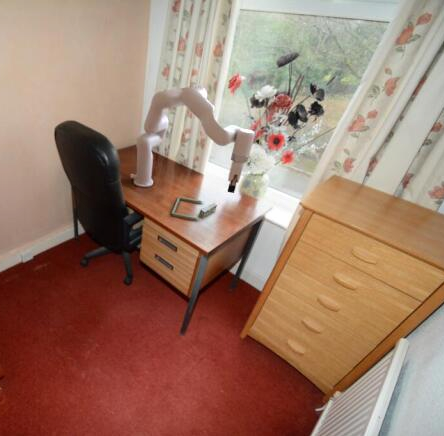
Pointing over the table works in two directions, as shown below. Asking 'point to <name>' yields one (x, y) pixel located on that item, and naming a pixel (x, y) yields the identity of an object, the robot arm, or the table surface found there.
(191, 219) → the frame
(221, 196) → the table surface
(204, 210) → the grey elongated block
